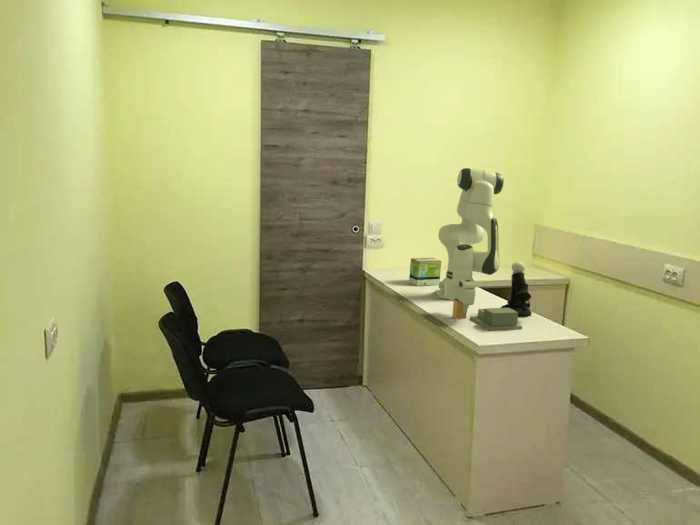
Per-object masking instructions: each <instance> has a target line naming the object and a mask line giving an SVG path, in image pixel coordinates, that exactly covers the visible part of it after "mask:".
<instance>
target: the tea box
mask: <svg viewBox="0 0 700 525" xmlns="http://www.w3.org/2000/svg"><path fill="white" fill-rule="evenodd" d="M441 268H442V260H441V259H437V258H435V257H412V258H410V266H409V278H408V283H409V284H412V285H414V286H416V287H422V286H439V284H440V283H441V281H440V280H441Z"/></svg>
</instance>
